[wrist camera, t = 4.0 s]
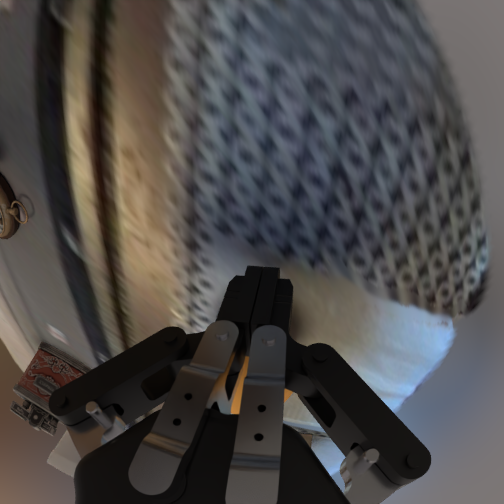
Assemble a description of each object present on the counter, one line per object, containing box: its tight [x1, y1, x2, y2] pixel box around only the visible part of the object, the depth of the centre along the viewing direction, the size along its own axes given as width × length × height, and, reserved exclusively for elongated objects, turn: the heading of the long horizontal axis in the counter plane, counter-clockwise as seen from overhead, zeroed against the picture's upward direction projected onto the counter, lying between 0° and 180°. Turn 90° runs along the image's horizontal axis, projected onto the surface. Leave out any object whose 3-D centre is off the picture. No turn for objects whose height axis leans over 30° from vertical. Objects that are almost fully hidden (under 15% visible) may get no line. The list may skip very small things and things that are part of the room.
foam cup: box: [47, 430, 81, 478], centre depth 35 cm, size 10×9×13 cm
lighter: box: [10, 342, 91, 436], centre depth 26 cm, size 8×3×10 cm, turn 71°
